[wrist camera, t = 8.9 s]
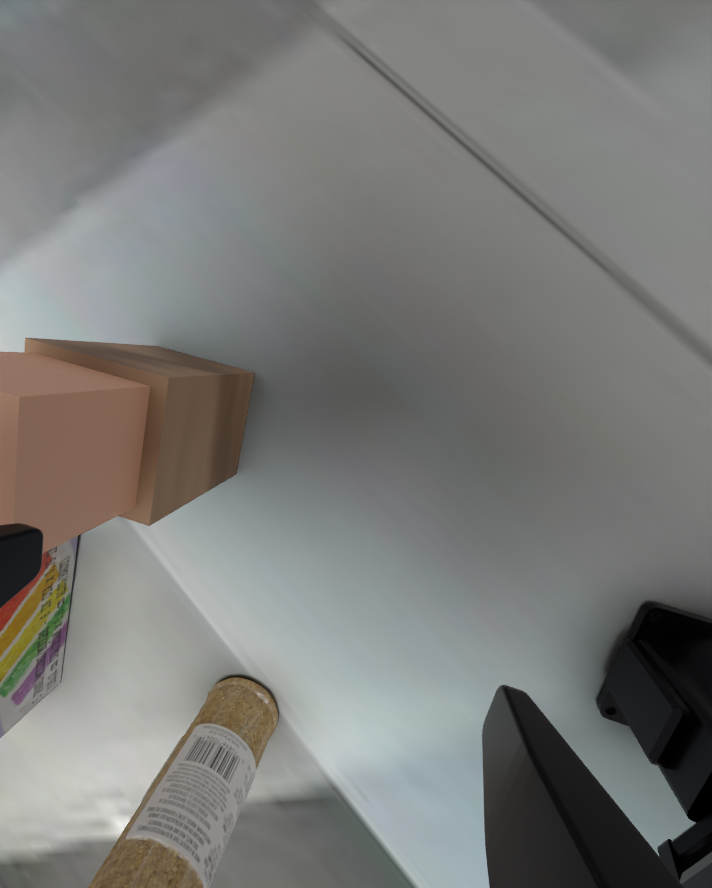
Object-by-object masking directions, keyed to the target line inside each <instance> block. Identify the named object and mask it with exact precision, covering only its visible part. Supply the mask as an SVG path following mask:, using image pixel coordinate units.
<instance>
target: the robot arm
mask: <svg viewBox="0 0 712 888" xmlns="http://www.w3.org/2000/svg"><path fill="white" fill-rule="evenodd" d="M43 539H44V536H43V533H42V531H41V530H40V529H38V528H35V527H32V526H29V525H26V524H22V523H15V524H6V525H0V609H1V608H2V607H3V606H4V605H5V604H6V603H7V602H9V601H10V600H11V599H12V598H13V597H14V596H15V595H17V594H18V593H19V592H20V591H21V590H22V589H24V588H25V587H26V586H27V585H28V584H29V583H30V582H32V581H33V580H34V579H35V578H36V576H37V575H38V574H39V572H40V570H41V567H42V555H43ZM656 612H658V614H657V615H656V616H655V617H651V615H652V614H653V613H656ZM609 706H612V707H611V708H607V707H609ZM597 707H598V709H599V711H600V713H601V715H602V716H603V717H605V718H607V719H609V720H612V721H615V722H618V723H621V724H624V725H627V726H630V728H631V730H632V731H633V733H634V735H635V737H636V738H637V740H638V742H639V744H640V746H641V747H642V749H643V751H644V753H645V754H646V756H647V758H648V760H649V761H650V762H651V764H654V765H657V766H658V767H659V768H660V770H661V772H662V774H663V775H664V777H665V779H666V780H667V782H668V784H669V786H670V787H671V789H672V791H673V792H674V794H675V796H676V798H677V799H678V801H679V803H680V804H681V806H682V808H683V810H684V811H685V813H686V815H687V816H688V818H689V819H690V820H692V821H694V822H696V823H695V824H694V825H693V826H691V827H690V828H689V829H687V830H686V831H685V832H683V833H682V834H681V835H679V836H678V837H677V838H675V839H674V840H673V841H672V840H670V839H668V840H666V841H665V842H664V843H662V844H661V845H660V846H658V853H659V856H660V857H659V856H658V855H657V853H656V852H655V851H654V850H653V848H652V847H651V846H650V845H649V844H648V842H647V841H646V840H645V839H644V837H643V836H642V835H641V834H640V832H639V831H638V830H637V829H636V828H635V826H634V825H633V824H632V823H631V821H630V820H629V819H628V818H627V816H626V815H625V814H624V813H623V811H622V810H621V809H620V808H619V807H618V805H617V804H616V803H615V802H614V800H613V799H612V798H611V797H610V795H609V794H608V793H607V792H606V790H605V789H604V788H603V787H602V786H601V784H600V783H599V782H598V781H597V779H596V778H595V777H594V776H593V774H592V773H591V772H590V771H589V770H588V768H587V767H586V766H585V765H584V763H583V762H582V761H581V760H580V758H579V757H578V756H577V755H576V753H575V752H574V751H573V750H572V749H571V747H570V746H569V745H568V744H567V742H566V741H565V740H564V739H563V737H562V736H561V735H560V734H559V733H558V731H557V730H556V729H555V728H554V726H553V725H552V724H551V723H550V721H549V720H548V719H547V718H546V716H545V715H544V714H543V713H542V712H541V710H540V709H539V708H538V707H537V705H536V704H535V703H534V702H533V700H532V699H531V698H530V697H529V696H528V695H527V693H525V692H524V691H522V690H519V689H516V688H513V687H510V686H507V685H501V686H500V687H499V688H498V689H497V691H496V693H495V696H494V698H493V701H492V703H491V706H490V708H489V711H488V713H487V716H486V718H485V721H484V725H483V732H482V747H483V786H484V825H485V846H486V857H487V867H488V876H489V885H490V888H712V620H711V619H707V618H704V617H701V616H698V615H694V614H691V613H688V612H684V611H681V610H678V609H674V608H671V607H668V606H664V605H661V604H658V603H647V604H646V605H644V606H643V607H642V609H641V611H640V613H639V615H638V617H637V619H636V621H635V623H634V625H633V627H632V629H631V631H630V633H629V635H628V638H627V640H626V641H625V642H624V643H623V645H622V647H621V649H620V651H619V653H618V655H617V657H616V659H615V662H614V664H613V666H612V668H611V670H610V672H609V674H608V676H607V678H606V680H605V685H604V687H603V690H602V692H601V694H600V696H599V698H598V700H597Z"/></svg>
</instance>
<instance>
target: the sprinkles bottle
mask: <svg viewBox="0 0 712 888" xmlns="http://www.w3.org/2000/svg"><path fill="white" fill-rule="evenodd" d="M277 720H278V713H277V708H276V706H275V703H274V701H273V699H272V698H271V696H270V694H269V693H268V692H267V691H266V690H265V689H264V688H263V687H261V686H259V685H258V684H256V683H255V682H252V681H250V680H247V679H243V678H229V679H226V680H223V681H220V682H218V683H217V684H216V685H215V686H214V687H213V688H212V690H211V691H210V692H209V694H208V697H207V700H206V702H205V704H204V706H203V707H202V708H201V710H200V712H199V714H198V715H197V717H196V718H195V720H194V721H193V723H192V724H191V726H190V727H189V729H188V730H187V732H186V734H185V735H184V736H183V737H182V738H181V739H180V740H179V742H178V744H177V745H176V747H175V748H174V750H173V751H172V753H171V754H170V756H169V758H168V759H167V761H166V762H165V764H164V765H163V767H162V768H161V770H160V772H159V773H158V775H157V776H156V778H155V779H154V781H153V782H152V784H151V786H150V787H149V789H148V790H147V792H146V794H145V795H144V797H143V799H142V803H141V804H140V806H139V807H138V809H137V810H136V812H135V814H134V815H133V816H132V818H131V819H130V822H129V823H128V824H127V826H126V827H125V829H124V831H123V832H122V834H121V836H120V837H119V839H118V841H117V842H116V844H115V846H114V847H113V849H112V850H111V852H110V854H109V855H108V856H107V858H106V859H105V861H104V863H103V865H102V866H101V868H100V869H99V871H98V872H97V874H96V876H95V878H94V879H93V881H92V883H91V884H90V885H89V887H88V888H210V886H211V883H212V881H213V878H214V876H215V873H216V871H217V868H218V866H219V863H220V861H221V858H222V856H223V854H224V851H225V849H226V846H227V844H228V841H229V839H230V836H231V834H232V831H233V829H234V826H235V824H236V822H237V819H238V817H239V814H240V812H241V809H242V807H243V804H244V802H245V800H246V797H247V795H248V792H249V790H250V787H251V785H252V782H253V780H254V777H255V772H256V769H257V766H258V764H259V762H260V759H261V757H262V754H263V752H264V749H265V747H266V745H267V742H268V739H269V737H270V736H271V735H272V734H273V732H274V730H275V728H276V725H277Z"/></svg>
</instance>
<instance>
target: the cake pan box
mask: <svg viewBox="0 0 712 888" xmlns="http://www.w3.org/2000/svg"><path fill="white" fill-rule="evenodd" d="M77 541H78V536H76V537H74V538H72V539H70V540H68V541H66V542H64V543H62V544H60V545H58V546H56V547H54V548H52V549H50V550H48V551H46V552H44V553H43V555H42V567H41V570H40V572H39V574H38V575H37V576H36V578H35V579H34V580H33V581H32V582H30V583H29V584H28V585H27V586H26V587H25V588H24V589H22V590H21V591H20V592H19V593H18V594H17V595H15V596H14V597H13V598H12V599H11V600H10V601H9V602H7V603H6V604H5V605H4V606H3V607H2V608H1V609H0V738H1V737H2V736H3V735H4V734H5V733H7V732H8V731H9V730H10V729H11V728H12V727H13V726H14V725H15V724H16V723H17V722H18V721H20V720H21V719H22V718H23V717H24V716H25V715H26V714H27V713H28V712H29V711H30V710H31V709H32V708H33V707H34V706H36V705H37V704H38V703H39V702H40V701H41V700H42V699H43V698H45V697H46V696H47V695H48V694H49V693H50V692H51V691H52V690H53V689H54V688H55V687H56V686H57V685H58V684H59V683H60V681H61V674H62V665H63V657H64V648H65V640H66V631H67V623H68V615H69V606H70V598H71V590H72V582H73V573H74V566H75V558H76V549H77Z"/></svg>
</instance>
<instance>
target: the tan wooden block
mask: <svg viewBox="0 0 712 888" xmlns="http://www.w3.org/2000/svg"><path fill="white" fill-rule="evenodd" d="M25 353H36V354H40V355H43V356H47V357H50V358H54V359H57V360H61V361H64V362H68V363H71V364H75V365H78V366H82V367H85V368H89V369H92V370H96V371H99V372H103V373H106V374H110V375H113V376H117V377H120V378H124V379H127V380H131V381H134V382H138V383H141V384H145V385H148V386H150V394H149V401H148V409H147V417H146V425H145V433H144V441H143V449H142V457H141V465H140V473H139V481H138V489H137V497H136V505H135V507H134V508H132V509H130V510H128V511H126V512H124V513H122V514H120V515H118V516H120V517H124V518H127V519H130V520H133V521H136V522H139V523H142V524H145V525H148V526H150V525H151V524H153V523H155V522H156V521H158V520H160V519H162V518H163V517H165V516H167V515H168V514H170V513H172V512H173V511H175V510H177V509H178V508H180V507H182V506H183V505H185V504H187V503H188V502H190V501H192V500H194V499H195V498H197V497H199V496H200V495H202V494H204V493H205V492H207V491H209V490H210V489H212V488H214V487H215V486H217V485H219V484H220V483H222V482H224V481H226V480H227V479H229V478H231V477H232V476H234V475H236V473H237V467H238V462H239V456H240V451H241V445H242V440H243V434H244V429H245V423H246V418H247V413H248V407H249V402H250V396H251V391H252V385H253V380H254V374H255V373H254V372H250V371H247V370H243V369H239V368H235V367H232V366H228V365H224V364H221V363H217V362H213V361H209V360H206V359H202V358H198V357H195V356H191V355H187V354H183V353H180V352H176V351H172V350H169V349H165V348H161V347H157V346H147V345H131V344H115V343H99V342H83V341H68V340H52V339H36V338H25Z"/></svg>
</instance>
